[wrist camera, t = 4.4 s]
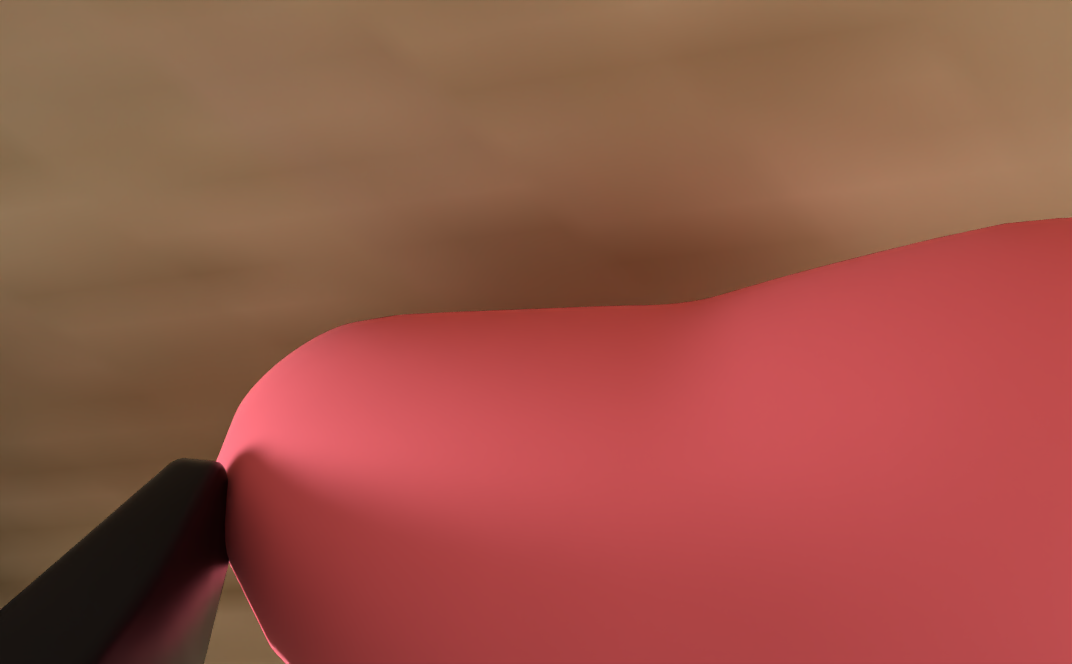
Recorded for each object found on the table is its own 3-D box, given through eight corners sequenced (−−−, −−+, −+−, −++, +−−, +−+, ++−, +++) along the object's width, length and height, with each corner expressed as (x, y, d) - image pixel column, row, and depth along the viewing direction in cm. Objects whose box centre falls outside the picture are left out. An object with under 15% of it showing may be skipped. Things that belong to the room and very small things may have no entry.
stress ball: (924, 512, 14) (1419, 840, 8) (290, 693, 12) (312, 1309, 6) (916, 150, 12) (1521, 216, 6) (186, 288, 10) (74, 572, 4)
